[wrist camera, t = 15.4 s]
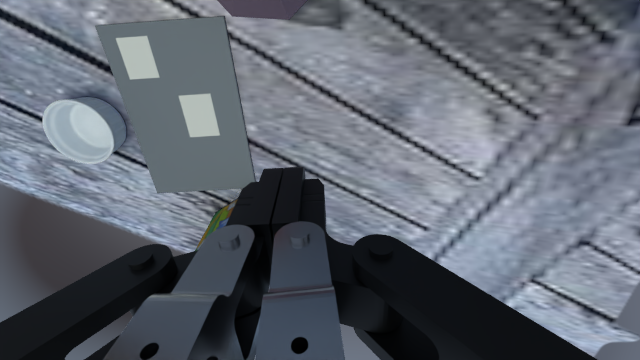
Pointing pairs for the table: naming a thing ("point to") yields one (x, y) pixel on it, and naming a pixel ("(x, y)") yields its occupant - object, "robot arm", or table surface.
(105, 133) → the ramekin
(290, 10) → the flask
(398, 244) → the robot arm
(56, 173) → the table surface
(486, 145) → the table surface
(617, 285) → the table surface
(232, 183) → the label placard
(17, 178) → the table surface
